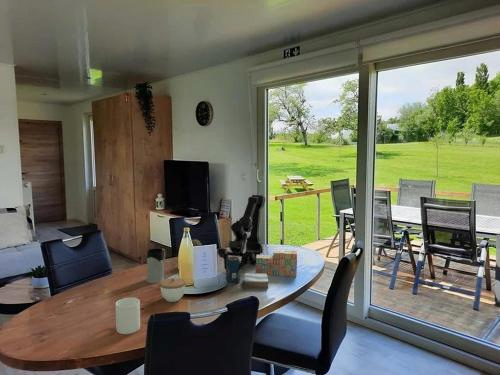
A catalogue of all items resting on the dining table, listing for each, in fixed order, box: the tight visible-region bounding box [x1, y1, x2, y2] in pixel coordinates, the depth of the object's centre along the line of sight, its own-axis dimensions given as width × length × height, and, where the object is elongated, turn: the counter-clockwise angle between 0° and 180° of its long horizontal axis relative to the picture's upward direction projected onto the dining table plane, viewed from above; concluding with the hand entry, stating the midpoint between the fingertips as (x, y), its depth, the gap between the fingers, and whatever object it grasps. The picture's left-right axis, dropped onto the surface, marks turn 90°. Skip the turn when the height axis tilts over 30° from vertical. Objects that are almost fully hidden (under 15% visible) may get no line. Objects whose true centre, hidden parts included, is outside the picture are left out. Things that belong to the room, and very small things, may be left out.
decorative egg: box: [191, 239, 203, 246], centre depth 207 cm, size 11×11×15 cm
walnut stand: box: [244, 272, 269, 289], centre depth 180 cm, size 11×11×4 cm
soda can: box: [225, 256, 241, 285], centre depth 182 cm, size 7×7×12 cm
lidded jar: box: [159, 277, 186, 303], centre depth 161 cm, size 11×11×9 cm
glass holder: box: [146, 248, 166, 284], centre depth 187 cm, size 9×14×15 cm, turn 164°
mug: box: [114, 297, 141, 335], centre depth 135 cm, size 12×8×10 cm
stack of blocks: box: [255, 249, 298, 277], centre depth 195 cm, size 21×6×12 cm, turn 85°
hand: (231, 269), depth 181 cm, fingers closed on soda can, 7 cm apart
